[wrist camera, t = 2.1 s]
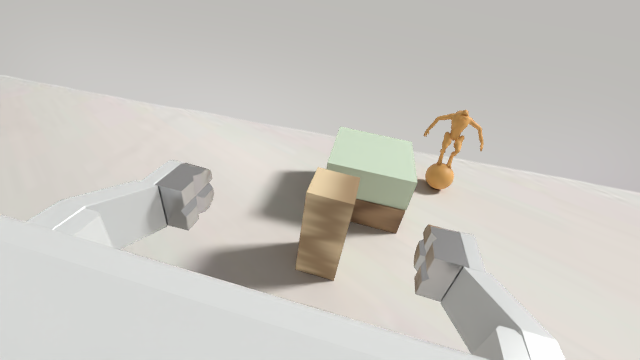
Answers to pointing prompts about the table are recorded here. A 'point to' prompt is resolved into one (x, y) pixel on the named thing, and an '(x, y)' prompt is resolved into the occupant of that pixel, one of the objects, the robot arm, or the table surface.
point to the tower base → (377, 215)
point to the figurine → (439, 172)
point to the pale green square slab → (376, 166)
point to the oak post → (326, 222)
